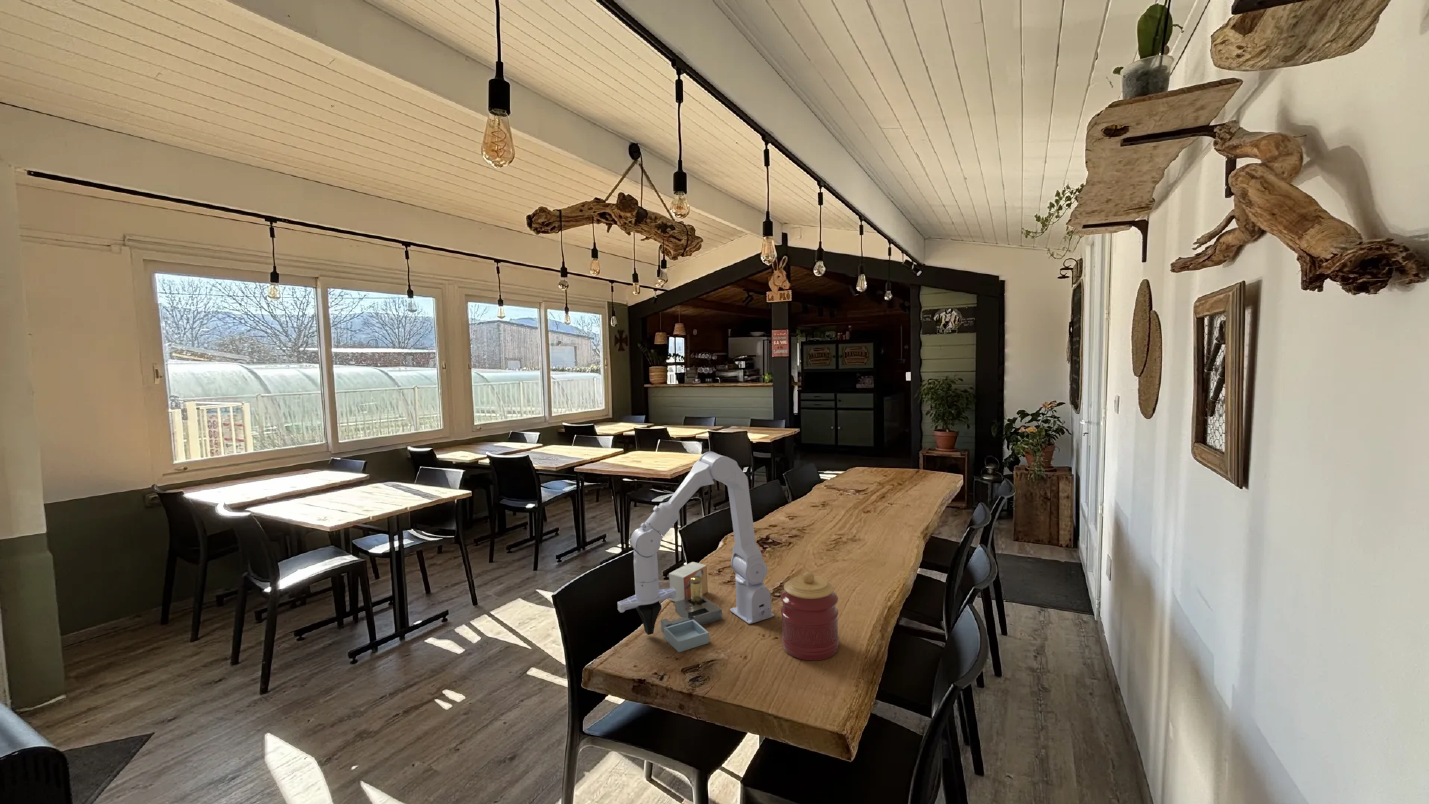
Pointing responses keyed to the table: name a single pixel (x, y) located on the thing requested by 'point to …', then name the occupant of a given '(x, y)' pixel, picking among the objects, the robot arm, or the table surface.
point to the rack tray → (686, 635)
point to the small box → (687, 580)
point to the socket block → (699, 611)
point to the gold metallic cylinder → (696, 590)
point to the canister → (809, 617)
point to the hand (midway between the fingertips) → (649, 632)
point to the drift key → (672, 622)
